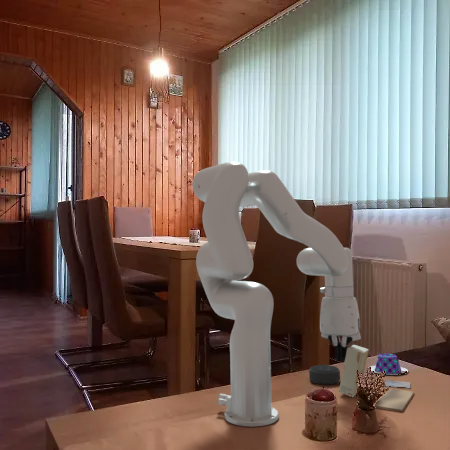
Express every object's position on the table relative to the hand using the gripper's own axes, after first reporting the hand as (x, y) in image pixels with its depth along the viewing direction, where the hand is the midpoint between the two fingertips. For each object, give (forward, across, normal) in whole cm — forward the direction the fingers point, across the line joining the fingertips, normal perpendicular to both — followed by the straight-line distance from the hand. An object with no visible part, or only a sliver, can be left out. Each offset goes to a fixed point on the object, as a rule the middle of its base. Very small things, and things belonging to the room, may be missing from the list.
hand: (341, 360), depth 129 cm
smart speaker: (+9, -8, +9) cm, 15 cm away
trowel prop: (+9, +7, +13) cm, 18 cm away
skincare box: (+8, +2, 0) cm, 9 cm away
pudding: (+9, +6, +29) cm, 31 cm away
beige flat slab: (+9, +12, 0) cm, 14 cm away
